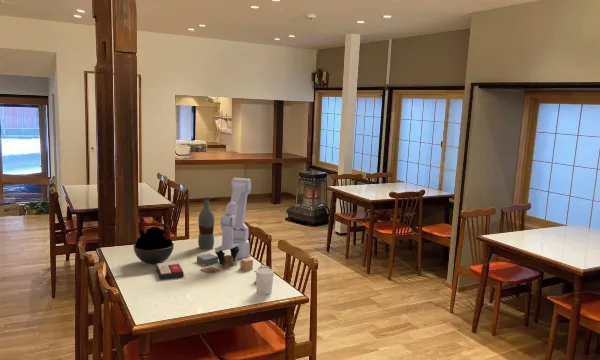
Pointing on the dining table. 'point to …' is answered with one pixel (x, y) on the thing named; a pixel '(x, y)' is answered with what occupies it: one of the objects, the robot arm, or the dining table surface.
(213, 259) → the base block
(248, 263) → the terracotta block
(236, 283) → the dining table surface
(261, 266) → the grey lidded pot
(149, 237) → the coal bowl
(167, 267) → the black and red box
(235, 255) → the robot arm
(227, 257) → the walnut block
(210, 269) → the tile
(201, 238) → the bottle
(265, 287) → the white cylinder
